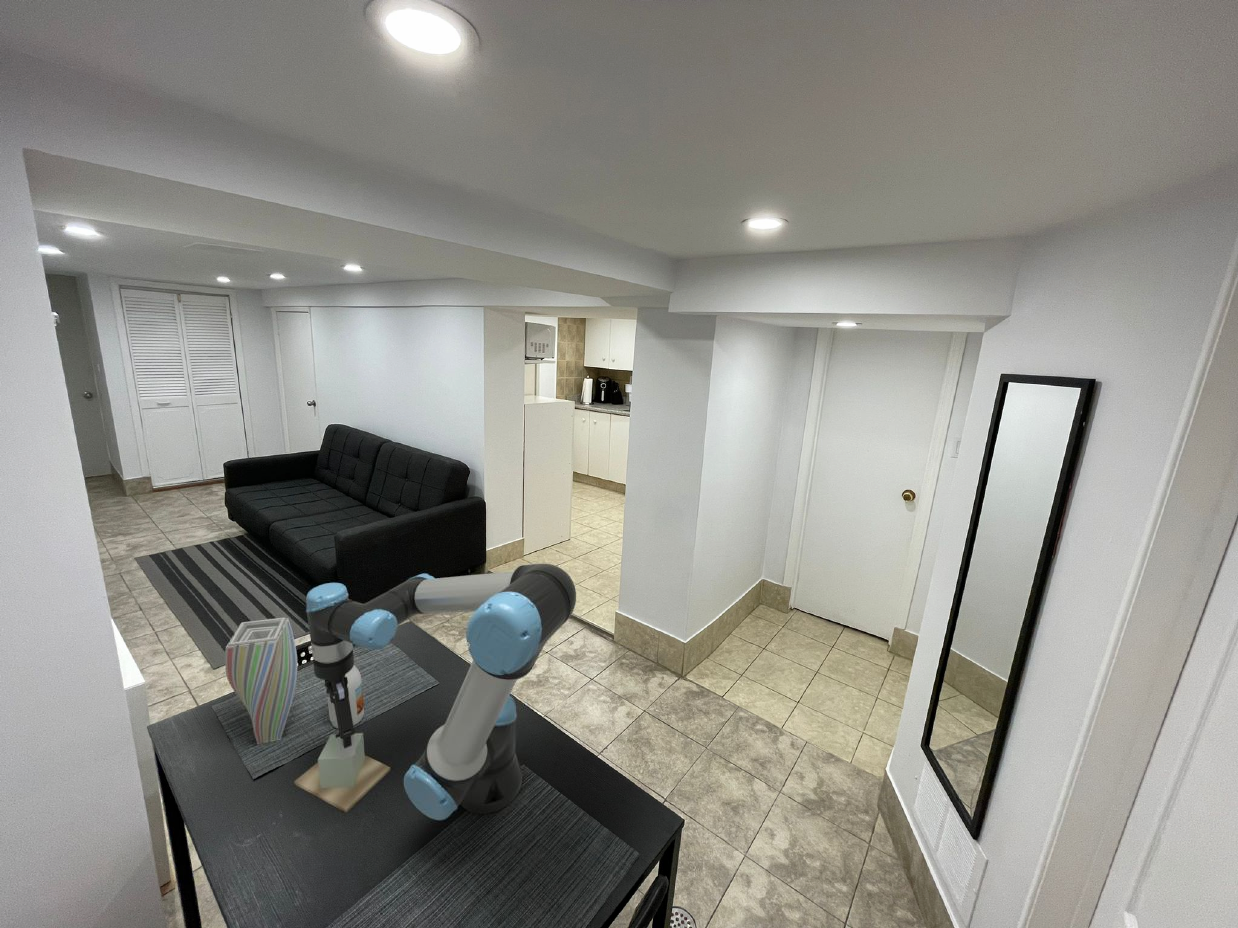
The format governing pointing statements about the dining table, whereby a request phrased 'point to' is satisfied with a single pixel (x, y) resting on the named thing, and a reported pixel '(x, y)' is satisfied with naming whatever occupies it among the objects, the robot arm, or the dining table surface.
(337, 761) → the pale green block
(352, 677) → the milk bottle
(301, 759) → the dining table surface
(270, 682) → the vase
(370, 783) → the post base
